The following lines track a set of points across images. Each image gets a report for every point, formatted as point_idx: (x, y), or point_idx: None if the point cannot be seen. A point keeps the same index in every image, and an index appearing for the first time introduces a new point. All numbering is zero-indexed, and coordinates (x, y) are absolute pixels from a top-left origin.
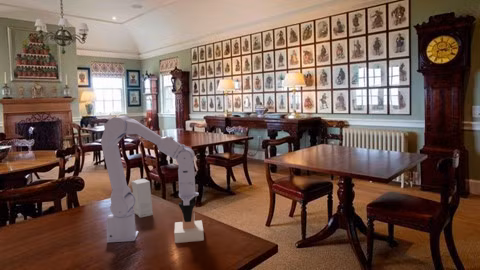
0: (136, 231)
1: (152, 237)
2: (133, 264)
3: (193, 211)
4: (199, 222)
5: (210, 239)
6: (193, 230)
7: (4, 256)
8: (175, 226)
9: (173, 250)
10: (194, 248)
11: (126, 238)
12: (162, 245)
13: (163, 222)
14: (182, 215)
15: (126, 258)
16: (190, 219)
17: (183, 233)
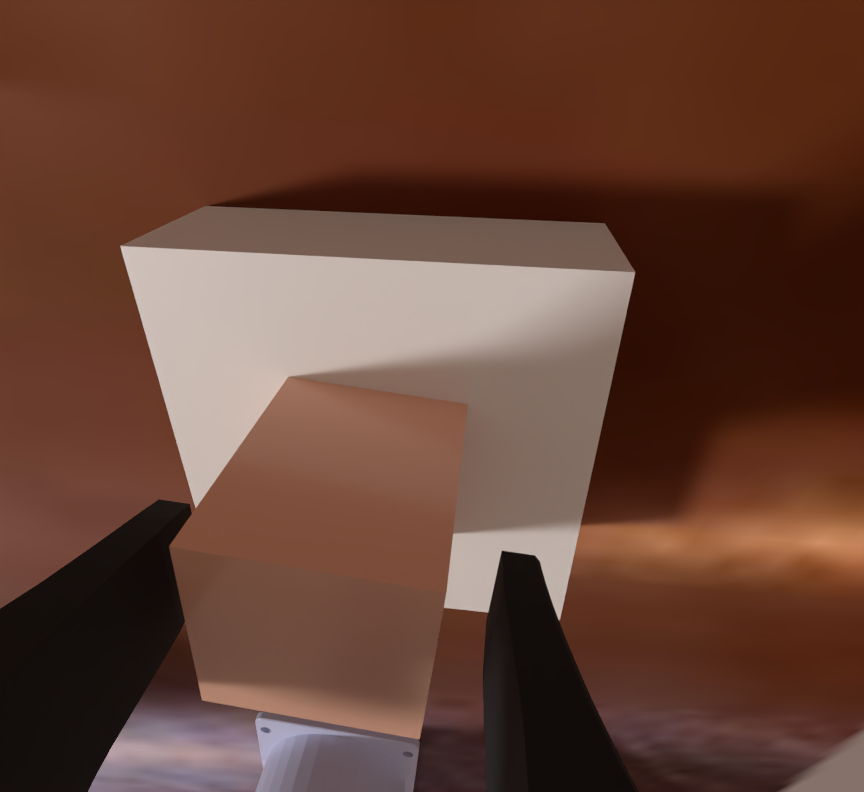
0: (265, 727)
1: None
2: (808, 759)
3: (213, 566)
4: (230, 297)
5: (614, 110)
6: (562, 423)
7: None
8: None
9: (723, 550)
10: (801, 366)
11: (401, 781)
12: (564, 609)
13: (39, 565)
14: (419, 731)
15: (685, 775)
16: (549, 599)
17: (573, 528)
